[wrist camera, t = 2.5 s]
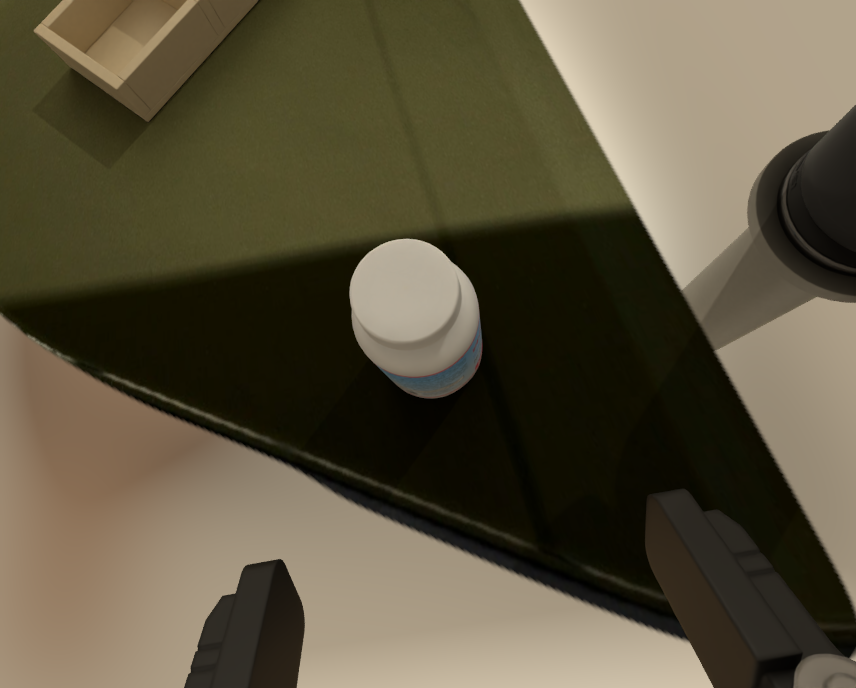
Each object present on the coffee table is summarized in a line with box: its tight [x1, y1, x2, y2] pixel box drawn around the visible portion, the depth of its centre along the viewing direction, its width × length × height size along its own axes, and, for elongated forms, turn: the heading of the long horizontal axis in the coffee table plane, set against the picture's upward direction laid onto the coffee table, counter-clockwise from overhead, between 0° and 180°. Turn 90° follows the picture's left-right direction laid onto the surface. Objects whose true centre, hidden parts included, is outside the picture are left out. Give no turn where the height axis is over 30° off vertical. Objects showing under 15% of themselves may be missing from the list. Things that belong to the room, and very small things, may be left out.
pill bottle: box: [350, 239, 482, 398], centre depth 27 cm, size 6×6×11 cm
